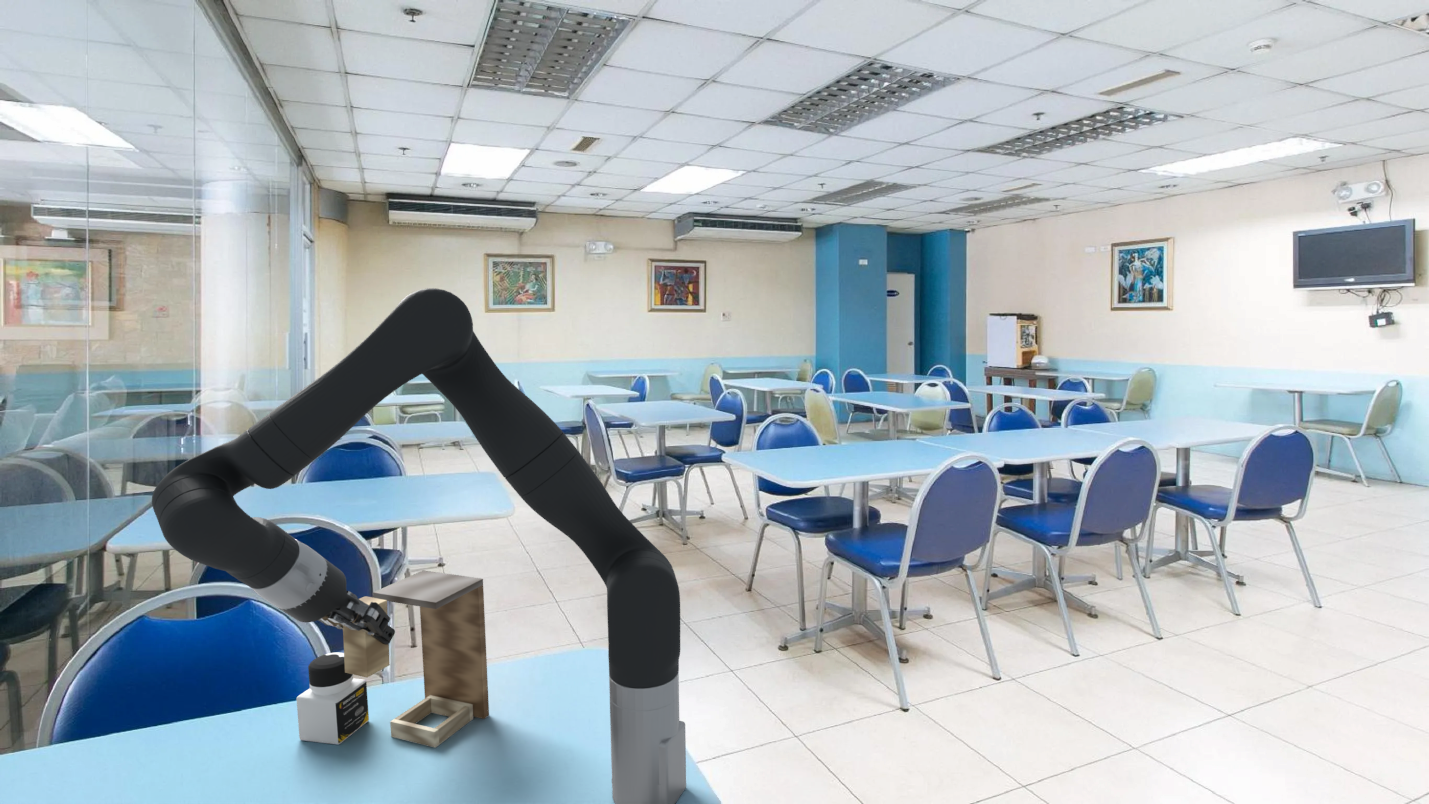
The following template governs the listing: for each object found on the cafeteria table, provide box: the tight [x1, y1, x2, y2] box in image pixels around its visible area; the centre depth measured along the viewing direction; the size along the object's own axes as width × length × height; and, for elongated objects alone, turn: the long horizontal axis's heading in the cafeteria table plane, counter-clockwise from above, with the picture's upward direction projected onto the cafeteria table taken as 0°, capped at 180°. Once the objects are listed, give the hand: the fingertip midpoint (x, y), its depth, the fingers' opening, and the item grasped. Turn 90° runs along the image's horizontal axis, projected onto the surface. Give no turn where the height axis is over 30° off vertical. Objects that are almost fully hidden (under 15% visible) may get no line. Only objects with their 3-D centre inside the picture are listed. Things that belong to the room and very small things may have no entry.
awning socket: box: [372, 570, 490, 749], centre depth 116 cm, size 12×11×23 cm
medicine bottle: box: [296, 651, 370, 745], centre depth 116 cm, size 7×7×12 cm
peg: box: [342, 595, 391, 678], centre depth 103 cm, size 4×4×10 cm
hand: (377, 635), depth 105 cm, fingers closed on peg, 4 cm apart
